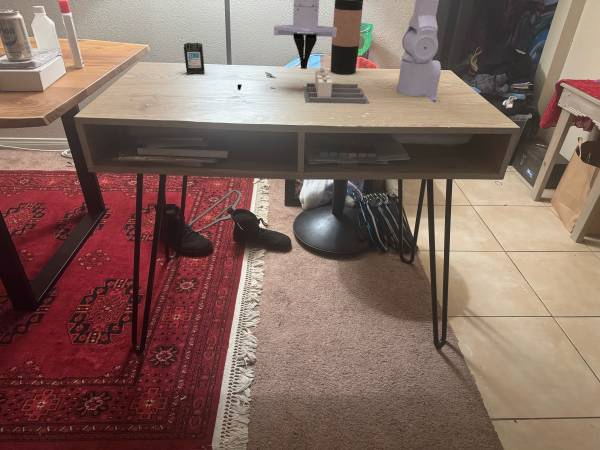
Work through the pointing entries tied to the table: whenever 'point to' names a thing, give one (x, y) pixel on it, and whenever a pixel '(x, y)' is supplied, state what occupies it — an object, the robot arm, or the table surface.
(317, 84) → the tab middle
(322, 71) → the tab
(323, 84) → the tab
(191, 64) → the ink cartridge
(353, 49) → the travel mug
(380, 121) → the table surface
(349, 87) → the switch bank
